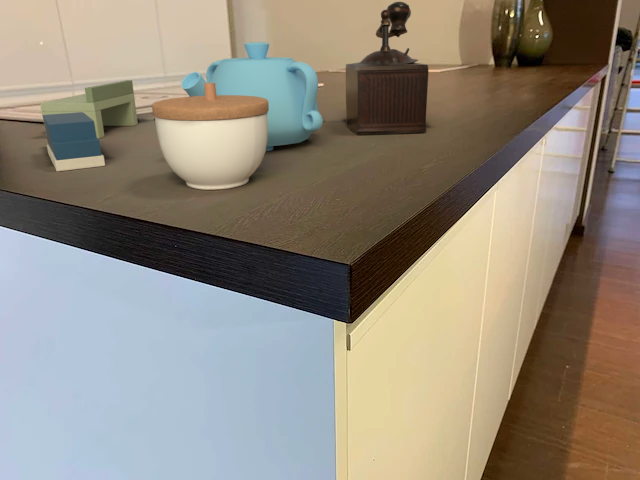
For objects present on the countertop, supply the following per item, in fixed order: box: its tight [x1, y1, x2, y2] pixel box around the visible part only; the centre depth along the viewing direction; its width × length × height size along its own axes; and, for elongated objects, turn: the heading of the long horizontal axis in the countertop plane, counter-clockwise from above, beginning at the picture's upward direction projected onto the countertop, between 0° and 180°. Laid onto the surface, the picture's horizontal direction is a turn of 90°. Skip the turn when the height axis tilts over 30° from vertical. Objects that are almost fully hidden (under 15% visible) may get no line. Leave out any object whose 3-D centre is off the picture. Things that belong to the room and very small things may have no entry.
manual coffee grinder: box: [345, 1, 429, 135], centre depth 81 cm, size 16×11×18 cm
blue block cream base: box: [42, 112, 106, 173], centre depth 63 cm, size 11×5×5 cm, turn 30°
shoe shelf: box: [39, 79, 139, 140], centre depth 82 cm, size 8×13×7 cm, turn 174°
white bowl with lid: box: [151, 83, 269, 191], centre depth 51 cm, size 11×11×9 cm
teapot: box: [180, 41, 324, 152], centre depth 68 cm, size 20×20×13 cm
